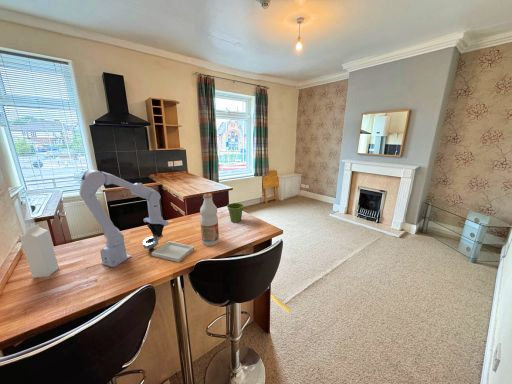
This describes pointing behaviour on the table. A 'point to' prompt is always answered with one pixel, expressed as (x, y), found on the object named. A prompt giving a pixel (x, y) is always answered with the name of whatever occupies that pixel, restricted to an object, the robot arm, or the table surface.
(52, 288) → the table surface
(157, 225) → the robot arm
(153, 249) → the knob
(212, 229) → the fruit juice
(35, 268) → the milk
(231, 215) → the plant pot
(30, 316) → the table surface
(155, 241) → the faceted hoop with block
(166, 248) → the tray
